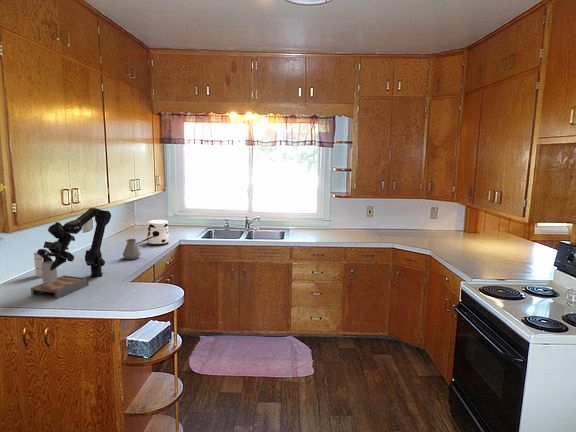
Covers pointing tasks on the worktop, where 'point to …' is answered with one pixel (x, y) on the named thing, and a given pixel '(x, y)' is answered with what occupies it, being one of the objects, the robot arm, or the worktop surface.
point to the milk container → (158, 232)
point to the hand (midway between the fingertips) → (47, 269)
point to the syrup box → (38, 264)
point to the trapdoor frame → (66, 289)
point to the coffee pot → (132, 249)
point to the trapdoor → (56, 284)
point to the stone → (48, 272)
